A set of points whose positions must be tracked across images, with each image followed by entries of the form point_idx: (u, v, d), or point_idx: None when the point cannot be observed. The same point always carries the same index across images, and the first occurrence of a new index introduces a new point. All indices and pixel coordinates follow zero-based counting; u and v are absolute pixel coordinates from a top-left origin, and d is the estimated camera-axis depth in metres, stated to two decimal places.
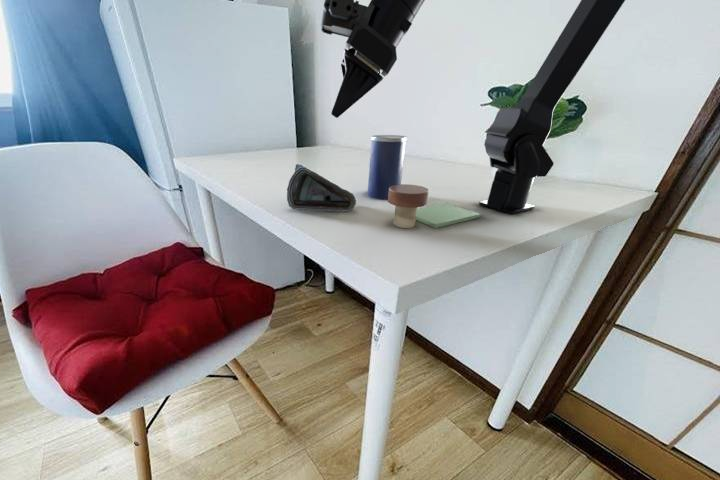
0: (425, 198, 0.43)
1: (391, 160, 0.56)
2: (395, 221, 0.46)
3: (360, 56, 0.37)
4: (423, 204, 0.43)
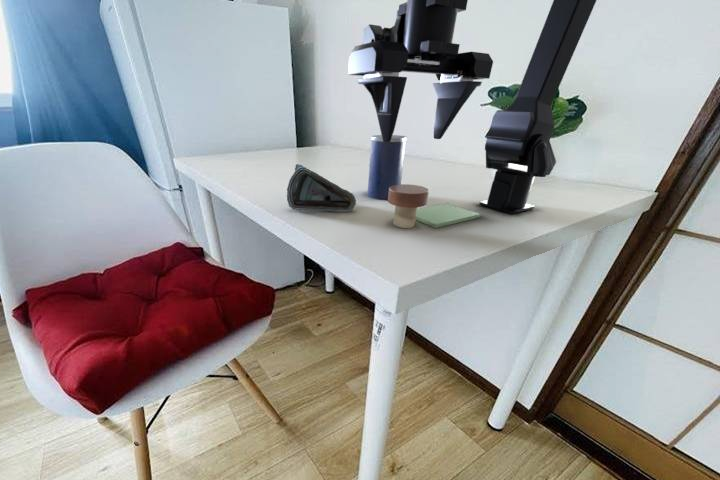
0: (425, 198, 0.43)
1: (391, 160, 0.56)
2: (395, 221, 0.46)
3: (366, 75, 0.35)
4: (423, 204, 0.43)
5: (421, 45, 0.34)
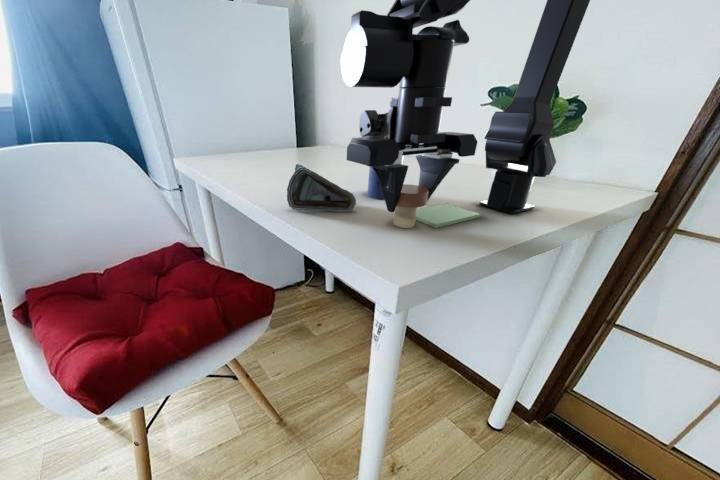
0: (425, 198, 0.43)
1: None
2: (395, 221, 0.46)
3: None
4: (423, 204, 0.43)
5: (411, 137, 0.39)
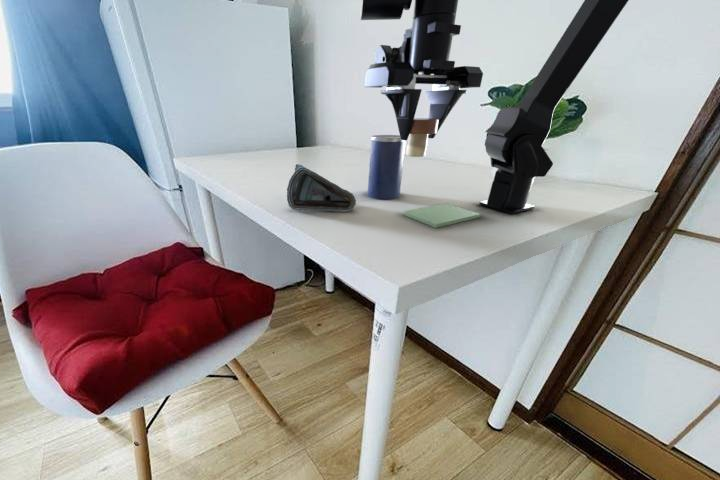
0: (435, 126, 0.47)
1: (391, 160, 0.56)
2: (407, 151, 0.50)
3: (388, 87, 0.45)
4: (434, 131, 0.47)
5: (424, 63, 0.43)
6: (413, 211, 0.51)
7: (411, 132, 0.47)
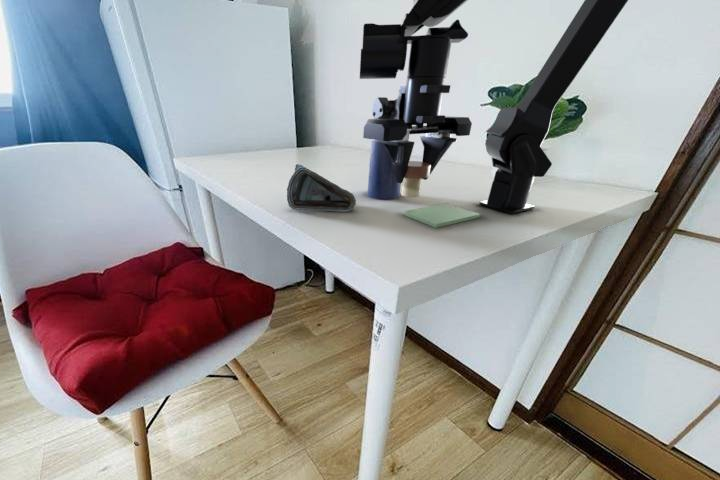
0: (428, 171, 0.52)
1: None
2: (402, 192, 0.55)
3: None
4: (426, 176, 0.52)
5: (417, 118, 0.47)
6: (413, 211, 0.51)
7: (405, 176, 0.52)
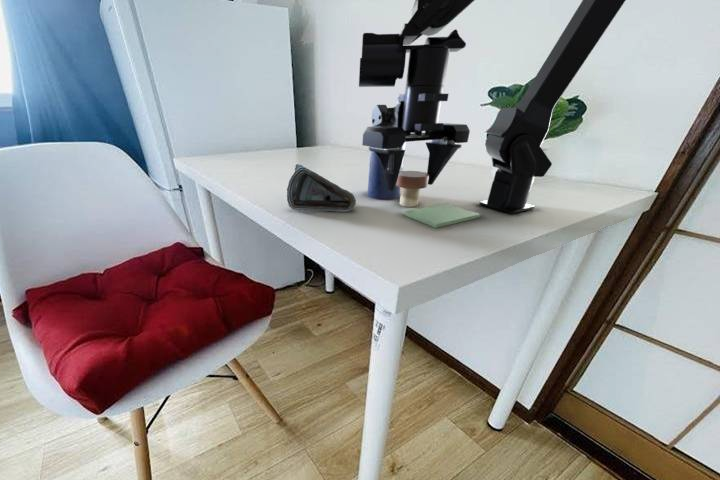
0: (426, 181, 0.52)
1: None
2: (401, 201, 0.56)
3: None
4: (424, 186, 0.53)
5: (415, 126, 0.48)
6: (413, 211, 0.51)
7: (404, 187, 0.53)
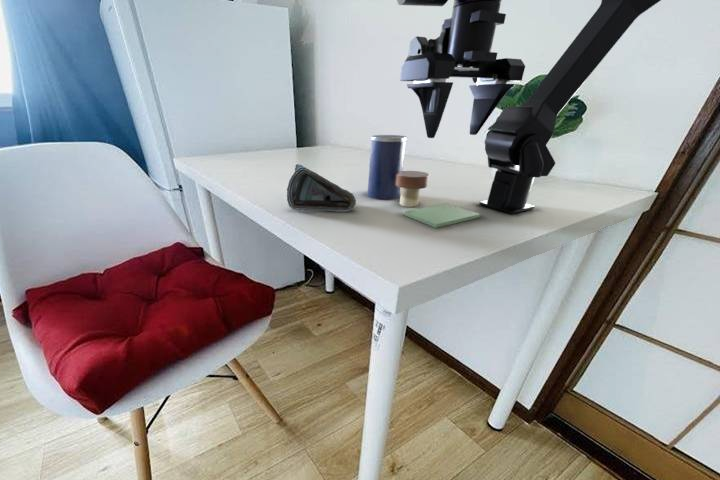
0: (426, 181, 0.52)
1: (391, 160, 0.56)
2: (401, 201, 0.56)
3: (416, 81, 0.41)
4: (424, 186, 0.53)
5: (465, 54, 0.40)
6: (413, 211, 0.51)
7: (404, 187, 0.53)
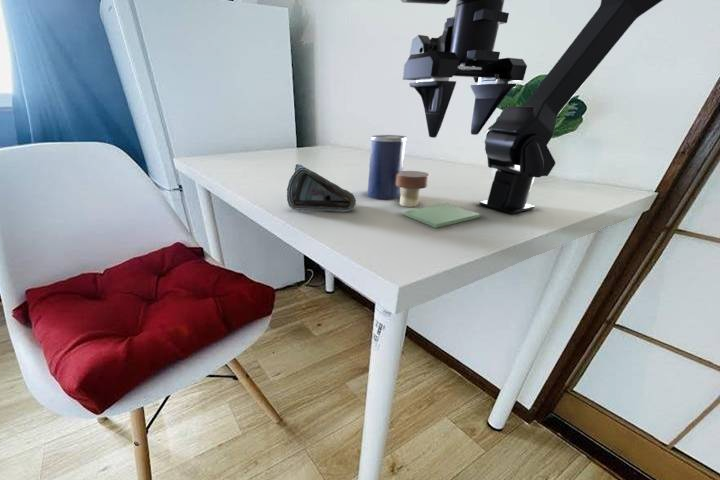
0: (426, 181, 0.52)
1: (391, 160, 0.56)
2: (401, 201, 0.56)
3: (419, 79, 0.41)
4: (424, 186, 0.53)
5: (468, 53, 0.40)
6: (413, 211, 0.51)
7: (404, 187, 0.53)
